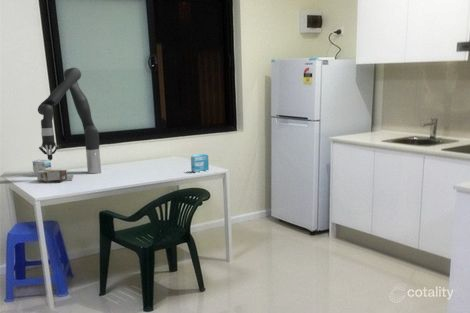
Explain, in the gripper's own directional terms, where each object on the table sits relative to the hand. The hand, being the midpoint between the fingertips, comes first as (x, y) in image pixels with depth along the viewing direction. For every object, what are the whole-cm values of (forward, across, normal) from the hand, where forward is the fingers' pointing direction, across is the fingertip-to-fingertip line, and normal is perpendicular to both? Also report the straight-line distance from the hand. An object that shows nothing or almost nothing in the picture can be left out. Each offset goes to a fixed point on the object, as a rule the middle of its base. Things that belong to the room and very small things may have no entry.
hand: (50, 160), depth 293 cm
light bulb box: (+14, +8, -18) cm, 24 cm away
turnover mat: (+14, -5, 0) cm, 14 cm away
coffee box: (+10, +6, +1) cm, 12 cm away
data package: (+14, -100, +10) cm, 101 cm away
